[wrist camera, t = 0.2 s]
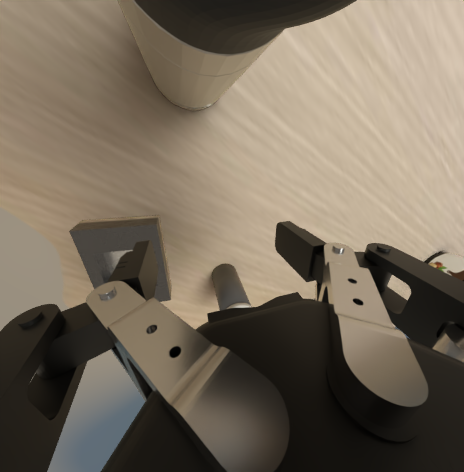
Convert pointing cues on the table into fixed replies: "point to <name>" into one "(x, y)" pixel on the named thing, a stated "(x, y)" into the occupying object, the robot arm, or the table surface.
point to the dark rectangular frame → (120, 247)
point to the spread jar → (448, 264)
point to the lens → (229, 288)
